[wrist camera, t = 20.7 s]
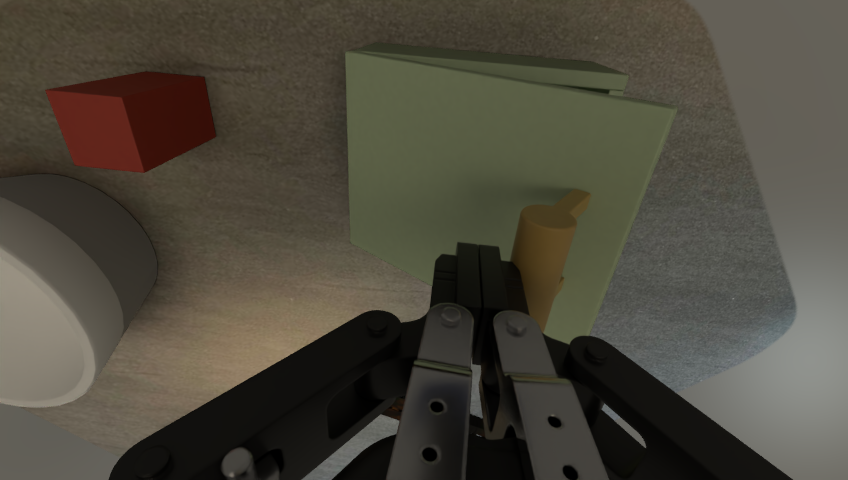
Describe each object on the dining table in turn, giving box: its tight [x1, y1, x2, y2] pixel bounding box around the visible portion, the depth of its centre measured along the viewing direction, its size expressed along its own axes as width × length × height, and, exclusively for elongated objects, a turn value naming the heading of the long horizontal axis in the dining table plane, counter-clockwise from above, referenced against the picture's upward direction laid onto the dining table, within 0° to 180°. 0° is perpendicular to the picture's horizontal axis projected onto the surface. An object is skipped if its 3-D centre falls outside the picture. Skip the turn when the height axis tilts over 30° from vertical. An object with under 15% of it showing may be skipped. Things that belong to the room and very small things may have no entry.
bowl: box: [0, 174, 157, 408], centre depth 32 cm, size 19×19×11 cm
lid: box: [345, 51, 678, 344], centre depth 18 cm, size 15×12×5 cm
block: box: [45, 71, 216, 173], centre depth 26 cm, size 4×4×8 cm
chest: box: [353, 43, 629, 97], centre depth 26 cm, size 15×12×6 cm
